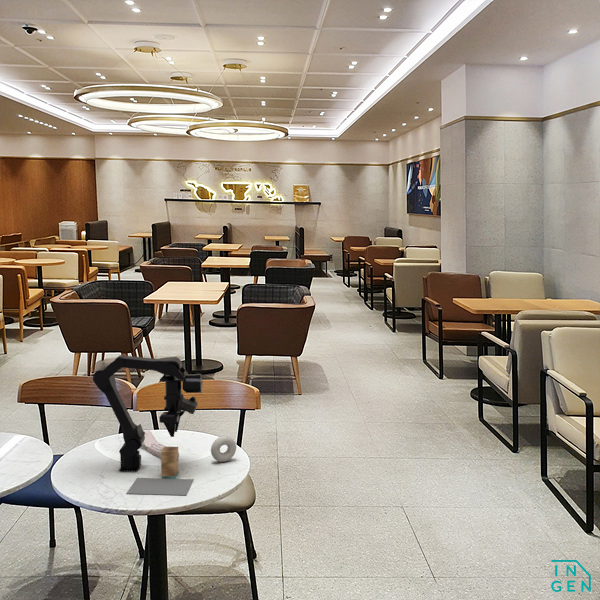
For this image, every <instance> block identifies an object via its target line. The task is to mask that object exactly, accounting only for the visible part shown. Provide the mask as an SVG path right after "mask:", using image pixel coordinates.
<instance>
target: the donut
mask: <svg viewBox="0 0 600 600" xmlns="http://www.w3.org/2000/svg"><path fill="white" fill-rule="evenodd" d="M223 446H227V449H226V450H225V452H221V448H222V447H223ZM236 452H237V444H236V441H235V440H234V439H233V438H232V437H231V436H228V435H221V436H219V437H217V438H216V439H215V440H214V441H213V443H212V445H211V448H210V453H211V454H210V455H211V456H212V458H213V459H214V460H216V461H217V462H220V463H222V462H223V463H224V462H227V461H229V460H231V459H232V458H233V457H234V456H235V454H236Z"/></svg>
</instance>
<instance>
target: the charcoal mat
mask: <svg viewBox="0 0 600 600" xmlns="http://www.w3.org/2000/svg"><path fill="white" fill-rule="evenodd" d="M193 482H194V478H176V479H165V478H161V477H159V478H157V477H155V478H154V477H136V478H135V480H134V482H133V483H132V484H131V486H130V487H129V489H128V490H127V491H126V495H138V496H139V495H141V496H144V495H146V496H149V495H151V496H175V497H176V496H181V497H182V496H183V497H186V496H187V495H188V493H189V491H190V488H191V487H192V484H193Z"/></svg>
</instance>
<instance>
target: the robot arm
mask: <svg viewBox="0 0 600 600" xmlns="http://www.w3.org/2000/svg"><path fill="white" fill-rule="evenodd" d="M122 368H123V369H125V368H126V369H133V370H145V371H154V372H157V373H160V374H162V376H160V378H159V382H164V387H165V388H164V389H165V390H164V391H165V395H164V396H163V400H164V401H165V407H164V408H163V410H164V412H162V413H161V414H160V416H159V423H160V424H163V425H164V426H165V428H166V430H167V432H168V434H169V436H170V437H171V438H174V437H175V433H177V432H178V430H179V427H180V422H181V421H180V420H181V417H182V416H183V415H184V414H185V413H188V414H190V415H194V414H195V412H196V410H197V407H198V405H199V403H198V401H197V398H196V397H195V396H191V397H189V398H185V397H184V396H185V395H184V394H183V393H182V391H183V392H185V393H187V394H202V393H203V386H204V384H203V379H202V378H203V377H202V373H194V374H191V373H190V374H189V372H187V370H186V369H185V368H184V366H183V362H182V360H181V359H180V358H179V357H177V356H166V357H161V358H154V357H153V358H152V357H143V356H132V355H131V356H130V355H124V354H120V355H118V356H117V357H116V358H115V359H114V360H113V361H112V362H110V363H109V364H108V365H107V366H105V365H104V366H102V367H99V368H98V369H97V370H96V371H95V372H94V374H93V376H92V381H93V383H94V384H95V386H96V387H97V388H98V390H99V391H101V392H102V393H103V394H104V396H105V398H106V399H107V401H108V403H109V405H110V407H111V409H112V411H113V413H114V416H115V417H116V419H117V421H118V423H119V425H120V427H121V429H122V439H123V442H124V443H123V444H122V446H121V447H120V449H119V450H118V451H119V455H120V456H119V457H120V462H119V463H120V467H119V469H118V471H119V472H138V470H139V469H140V467H142V455H141V453H140V450H139V449H141V447H142V445H143V444H144V443H143V442H144V440H145V432H144V431H145V430H144V429H143V426H142V424H141V423H140V424H138V425H137V424H136V423H135V422H134V421H133V418H132V417H131V415H130V413H129V410H128V409H127V407H126V404H125V403H124V400H123V398H122V396H121V395H120V392H119V389H117V382H116V377H115V374H116V373H117V372H118V371H119V370H121V369H122Z"/></svg>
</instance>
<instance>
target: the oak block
mask: <svg viewBox="0 0 600 600" xmlns="http://www.w3.org/2000/svg"><path fill="white" fill-rule="evenodd" d="M165 446H166V445H165ZM165 446H164V448H163V449H162V451H161V458H160V467H161V469H160V470H161V471H160V473H161V474H160V476H161V477H160V478H165V479H177V477H178V475H179V474H178V473H180V472H179V458H178V452H179V446H167V447H165Z"/></svg>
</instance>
